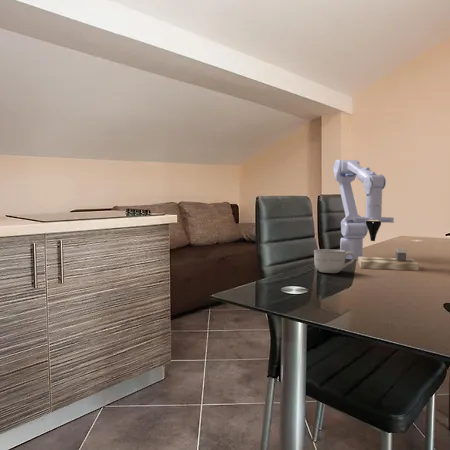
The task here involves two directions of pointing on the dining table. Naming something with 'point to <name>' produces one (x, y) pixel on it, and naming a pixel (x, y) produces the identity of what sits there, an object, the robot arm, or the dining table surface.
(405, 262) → the console
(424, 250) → the dining table surface
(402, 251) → the fader
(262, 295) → the dining table surface
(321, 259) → the teacup
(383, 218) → the robot arm
